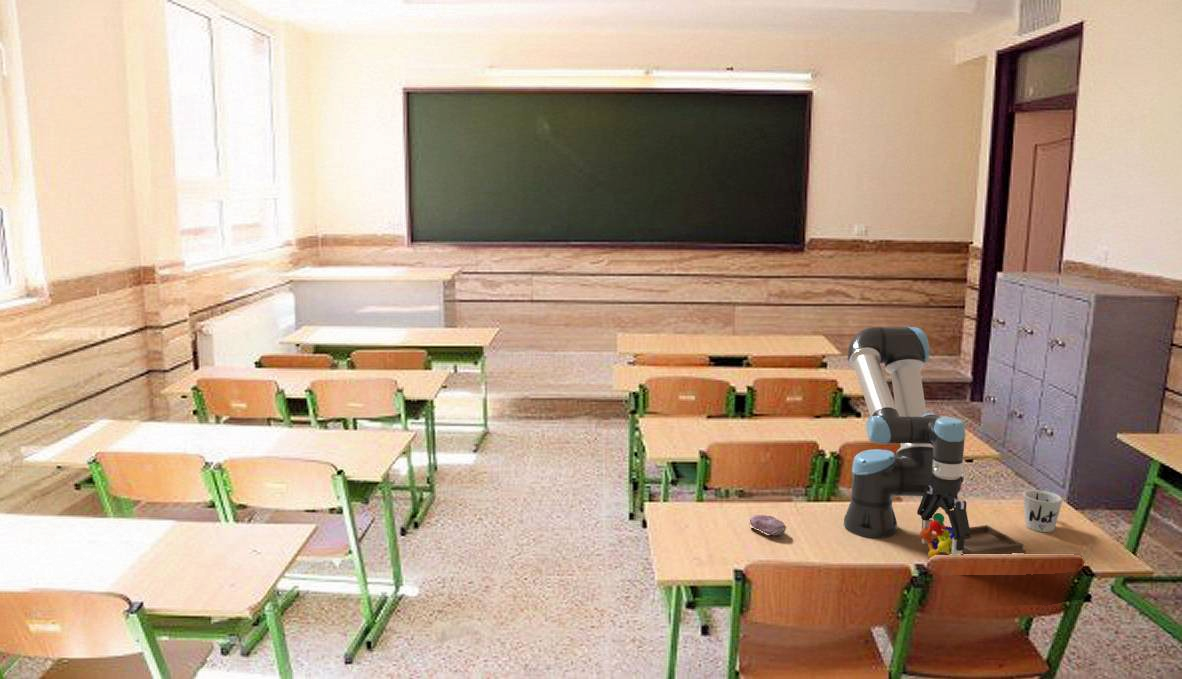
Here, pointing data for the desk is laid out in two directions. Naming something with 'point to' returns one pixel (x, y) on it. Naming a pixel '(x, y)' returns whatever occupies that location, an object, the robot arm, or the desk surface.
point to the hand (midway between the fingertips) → (941, 551)
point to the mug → (1041, 510)
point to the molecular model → (938, 536)
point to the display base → (989, 542)
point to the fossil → (768, 524)
